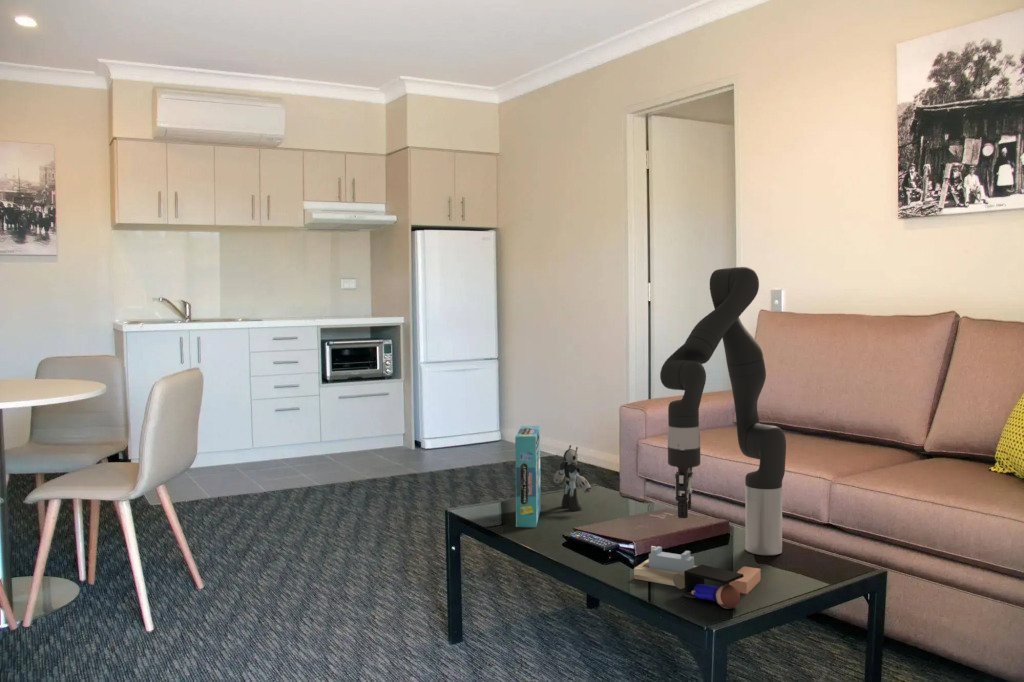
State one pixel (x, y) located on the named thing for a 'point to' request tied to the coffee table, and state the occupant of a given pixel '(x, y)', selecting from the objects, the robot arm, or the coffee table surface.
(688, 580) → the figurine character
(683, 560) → the grey toy brick
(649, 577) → the cradle
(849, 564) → the coffee table surface
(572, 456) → the robot
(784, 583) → the coffee table surface
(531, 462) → the game box
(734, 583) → the orange rectangular block
